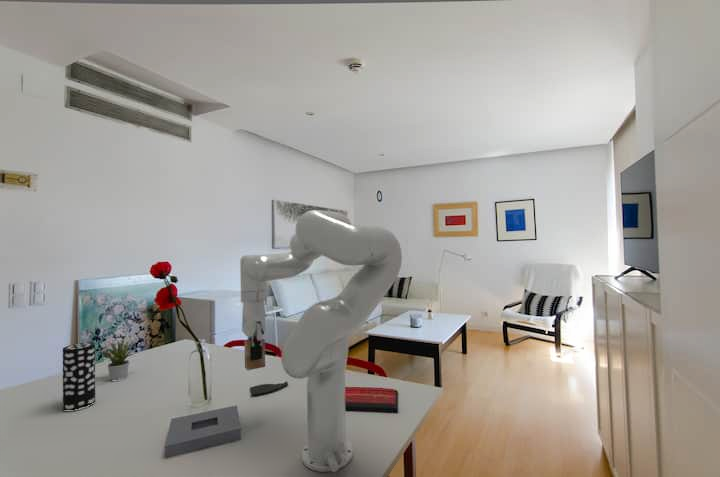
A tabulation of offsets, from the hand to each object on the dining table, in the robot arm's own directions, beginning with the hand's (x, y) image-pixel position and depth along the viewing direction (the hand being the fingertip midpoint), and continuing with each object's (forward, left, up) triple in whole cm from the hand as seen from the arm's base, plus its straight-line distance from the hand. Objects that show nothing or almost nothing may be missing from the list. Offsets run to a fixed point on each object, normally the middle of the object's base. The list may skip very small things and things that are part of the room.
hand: (254, 357), depth 98 cm
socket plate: (0, +14, -19) cm, 24 cm away
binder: (-2, -35, -20) cm, 41 cm away
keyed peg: (0, 0, -3) cm, 3 cm away
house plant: (+61, +46, -19) cm, 79 cm away
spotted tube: (+38, +53, -19) cm, 68 cm away
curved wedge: (+21, -6, -20) cm, 30 cm away
